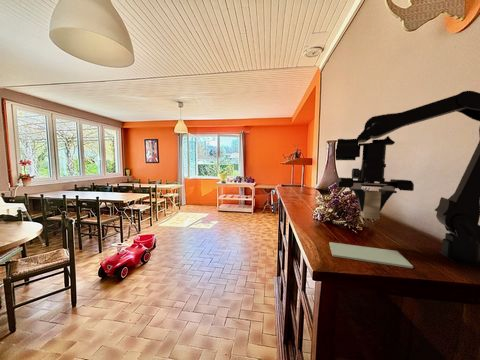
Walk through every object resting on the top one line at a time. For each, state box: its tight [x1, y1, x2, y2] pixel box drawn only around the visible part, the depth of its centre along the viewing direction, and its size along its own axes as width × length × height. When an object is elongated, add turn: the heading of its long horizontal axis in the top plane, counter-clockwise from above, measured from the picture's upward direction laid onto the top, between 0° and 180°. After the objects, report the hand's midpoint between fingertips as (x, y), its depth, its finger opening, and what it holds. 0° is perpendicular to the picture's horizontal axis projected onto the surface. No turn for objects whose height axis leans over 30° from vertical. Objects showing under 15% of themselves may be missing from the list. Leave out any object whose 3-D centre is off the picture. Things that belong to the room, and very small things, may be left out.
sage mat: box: [328, 241, 414, 269], centre depth 53 cm, size 17×9×1 cm, turn 71°
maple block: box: [360, 189, 381, 220], centre depth 61 cm, size 4×4×8 cm
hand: (369, 211), depth 61 cm, fingers closed on maple block, 4 cm apart
